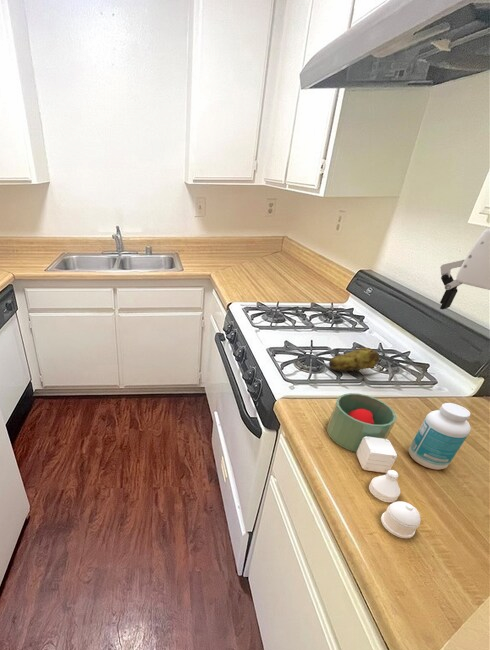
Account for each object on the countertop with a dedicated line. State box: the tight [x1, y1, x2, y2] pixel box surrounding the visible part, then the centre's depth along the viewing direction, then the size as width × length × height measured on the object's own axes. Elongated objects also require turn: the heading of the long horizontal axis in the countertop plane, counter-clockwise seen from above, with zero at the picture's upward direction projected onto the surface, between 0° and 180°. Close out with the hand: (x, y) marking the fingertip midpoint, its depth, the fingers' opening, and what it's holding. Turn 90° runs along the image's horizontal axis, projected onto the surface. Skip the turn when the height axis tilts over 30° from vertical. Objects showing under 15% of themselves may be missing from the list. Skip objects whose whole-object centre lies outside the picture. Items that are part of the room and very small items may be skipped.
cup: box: [326, 392, 397, 453], centre depth 79 cm, size 12×12×8 cm
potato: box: [328, 347, 380, 372], centre depth 104 cm, size 8×13×8 cm, turn 65°
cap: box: [348, 409, 374, 424], centre depth 79 cm, size 8×6×6 cm
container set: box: [356, 436, 422, 539], centre depth 66 cm, size 20×5×6 cm, turn 170°
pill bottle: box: [408, 402, 472, 471], centre depth 72 cm, size 8×7×14 cm
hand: (470, 315), depth 71 cm, fingers open, 9 cm apart
